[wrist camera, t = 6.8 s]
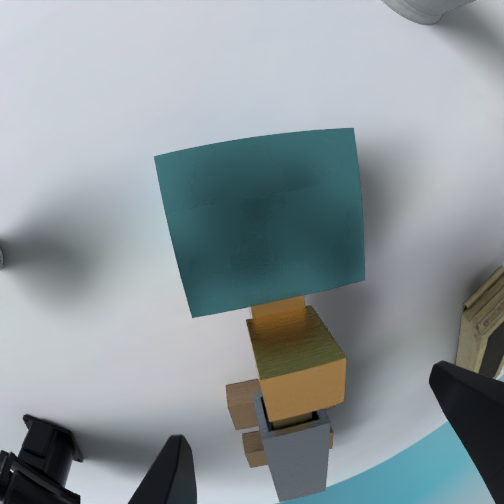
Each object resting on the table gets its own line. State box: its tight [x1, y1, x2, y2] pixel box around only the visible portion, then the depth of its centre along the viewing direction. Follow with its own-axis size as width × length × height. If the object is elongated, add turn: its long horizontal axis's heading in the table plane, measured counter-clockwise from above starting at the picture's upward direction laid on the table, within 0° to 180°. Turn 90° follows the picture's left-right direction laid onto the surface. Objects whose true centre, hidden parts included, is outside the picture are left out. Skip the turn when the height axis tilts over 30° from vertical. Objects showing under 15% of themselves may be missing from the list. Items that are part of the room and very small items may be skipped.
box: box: [455, 266, 504, 379], centre depth 23 cm, size 8×22×5 cm, turn 32°
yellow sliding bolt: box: [246, 295, 346, 431], centre depth 14 cm, size 19×3×6 cm, turn 9°
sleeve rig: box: [154, 128, 365, 502], centre depth 17 cm, size 28×8×7 cm, turn 9°
